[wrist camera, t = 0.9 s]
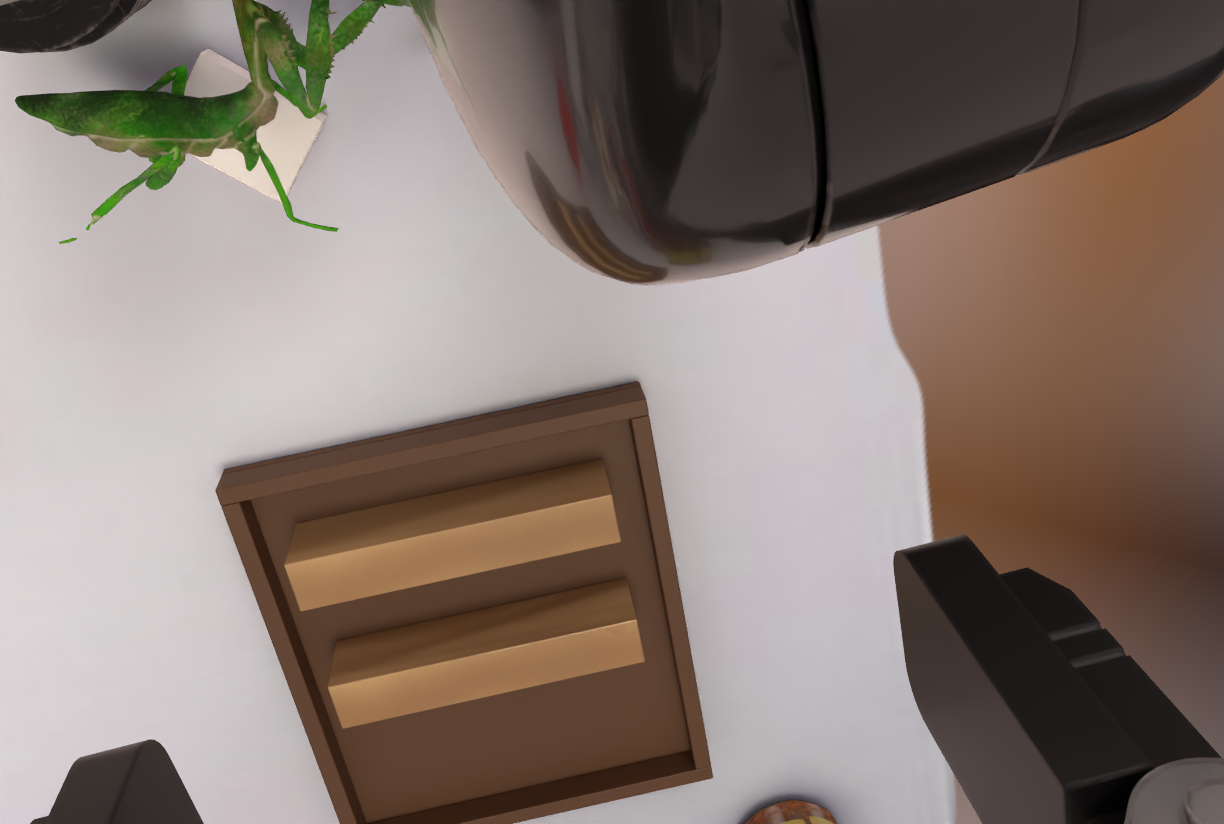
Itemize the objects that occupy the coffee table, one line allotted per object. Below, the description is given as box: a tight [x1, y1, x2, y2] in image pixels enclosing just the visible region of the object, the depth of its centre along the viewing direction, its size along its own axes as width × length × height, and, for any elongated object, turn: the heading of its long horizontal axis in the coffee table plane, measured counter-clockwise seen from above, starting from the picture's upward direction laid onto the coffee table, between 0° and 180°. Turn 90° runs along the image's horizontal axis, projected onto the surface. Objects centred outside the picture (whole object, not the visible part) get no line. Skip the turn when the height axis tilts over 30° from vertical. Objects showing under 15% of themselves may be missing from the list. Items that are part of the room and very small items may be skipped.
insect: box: [15, 0, 411, 244], centre depth 36 cm, size 10×14×10 cm
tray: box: [216, 382, 713, 824], centre depth 52 cm, size 22×19×2 cm
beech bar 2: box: [328, 578, 645, 729], centre depth 51 cm, size 2×14×4 cm, turn 100°
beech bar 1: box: [284, 459, 621, 611], centre depth 49 cm, size 2×14×4 cm, turn 100°
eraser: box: [184, 49, 327, 203], centre depth 42 cm, size 1×5×4 cm
